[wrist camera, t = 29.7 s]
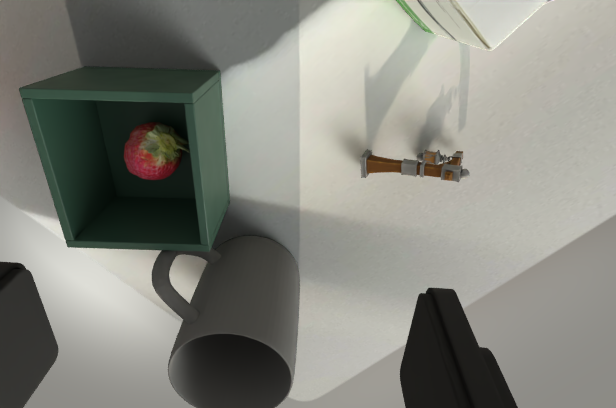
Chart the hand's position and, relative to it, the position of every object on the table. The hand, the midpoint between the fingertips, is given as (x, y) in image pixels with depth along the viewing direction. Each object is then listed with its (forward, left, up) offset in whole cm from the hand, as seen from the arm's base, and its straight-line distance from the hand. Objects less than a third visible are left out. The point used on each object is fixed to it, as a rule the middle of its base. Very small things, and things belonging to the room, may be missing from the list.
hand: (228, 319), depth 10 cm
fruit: (+4, -10, -23) cm, 26 cm away
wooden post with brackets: (+4, +10, -24) cm, 26 cm away
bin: (+4, -10, -24) cm, 26 cm away
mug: (+15, -5, -24) cm, 29 cm away
